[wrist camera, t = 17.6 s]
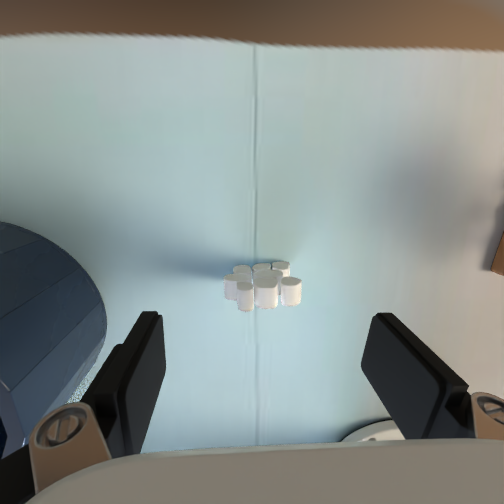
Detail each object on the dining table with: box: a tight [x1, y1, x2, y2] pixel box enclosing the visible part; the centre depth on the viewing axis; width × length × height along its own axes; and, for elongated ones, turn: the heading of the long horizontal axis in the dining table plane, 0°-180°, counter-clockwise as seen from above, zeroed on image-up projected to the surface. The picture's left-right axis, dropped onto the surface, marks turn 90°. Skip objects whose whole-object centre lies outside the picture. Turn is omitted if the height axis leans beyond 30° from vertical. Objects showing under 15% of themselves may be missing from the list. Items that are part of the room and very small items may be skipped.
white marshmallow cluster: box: [223, 261, 301, 312], centre depth 17 cm, size 5×1×4 cm, turn 92°
